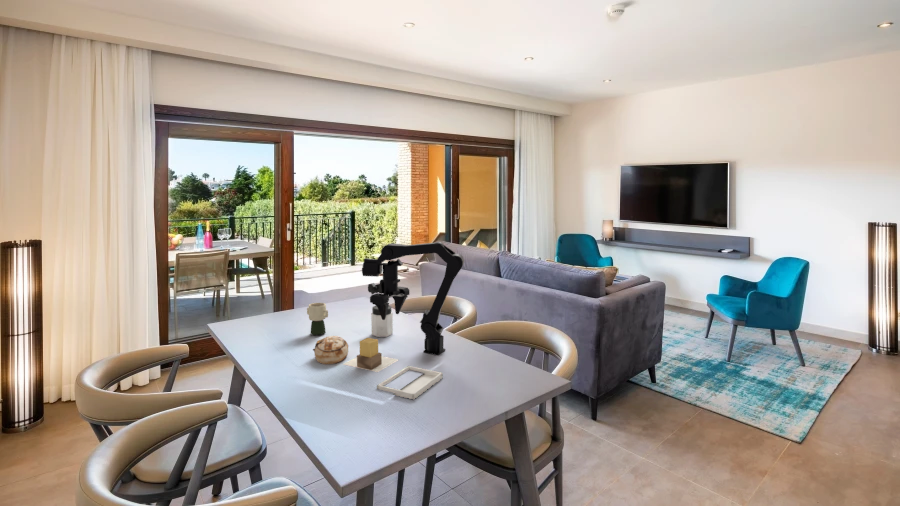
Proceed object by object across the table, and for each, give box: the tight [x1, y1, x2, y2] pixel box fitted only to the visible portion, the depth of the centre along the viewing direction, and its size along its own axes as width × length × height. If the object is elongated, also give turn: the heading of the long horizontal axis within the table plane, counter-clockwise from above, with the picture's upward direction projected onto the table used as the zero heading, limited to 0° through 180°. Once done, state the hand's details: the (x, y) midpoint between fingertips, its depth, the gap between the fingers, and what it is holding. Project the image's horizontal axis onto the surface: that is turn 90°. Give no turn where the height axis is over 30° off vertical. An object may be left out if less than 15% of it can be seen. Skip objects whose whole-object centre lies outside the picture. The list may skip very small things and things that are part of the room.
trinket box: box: [312, 335, 349, 365], centre depth 167 cm, size 13×15×8 cm
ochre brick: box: [359, 337, 379, 358], centre depth 159 cm, size 4×4×5 cm
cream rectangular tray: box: [376, 365, 443, 401], centre depth 146 cm, size 13×18×2 cm
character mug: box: [306, 302, 329, 336], centre depth 195 cm, size 11×7×13 cm, turn 66°
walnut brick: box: [356, 352, 383, 371], centre depth 159 cm, size 6×6×4 cm
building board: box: [342, 355, 399, 373], centre depth 163 cm, size 15×13×1 cm
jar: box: [370, 305, 394, 338], centre depth 196 cm, size 9×8×12 cm
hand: (390, 316), depth 176 cm, fingers open, 9 cm apart
